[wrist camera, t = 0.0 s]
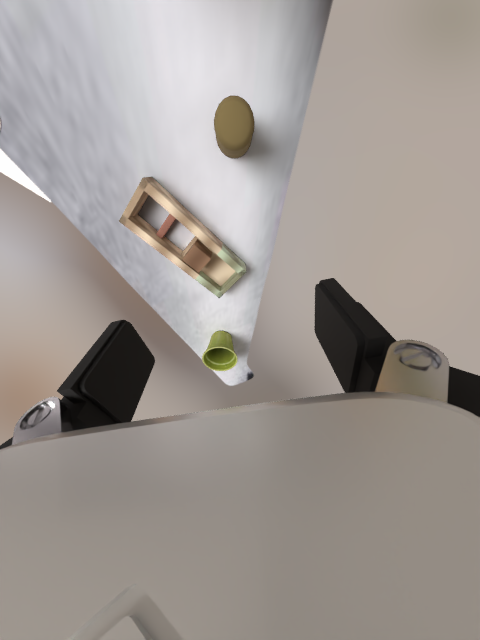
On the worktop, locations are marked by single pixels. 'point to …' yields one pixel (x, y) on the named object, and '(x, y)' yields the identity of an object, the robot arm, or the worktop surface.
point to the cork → (234, 126)
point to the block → (198, 256)
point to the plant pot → (220, 352)
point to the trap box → (223, 261)
